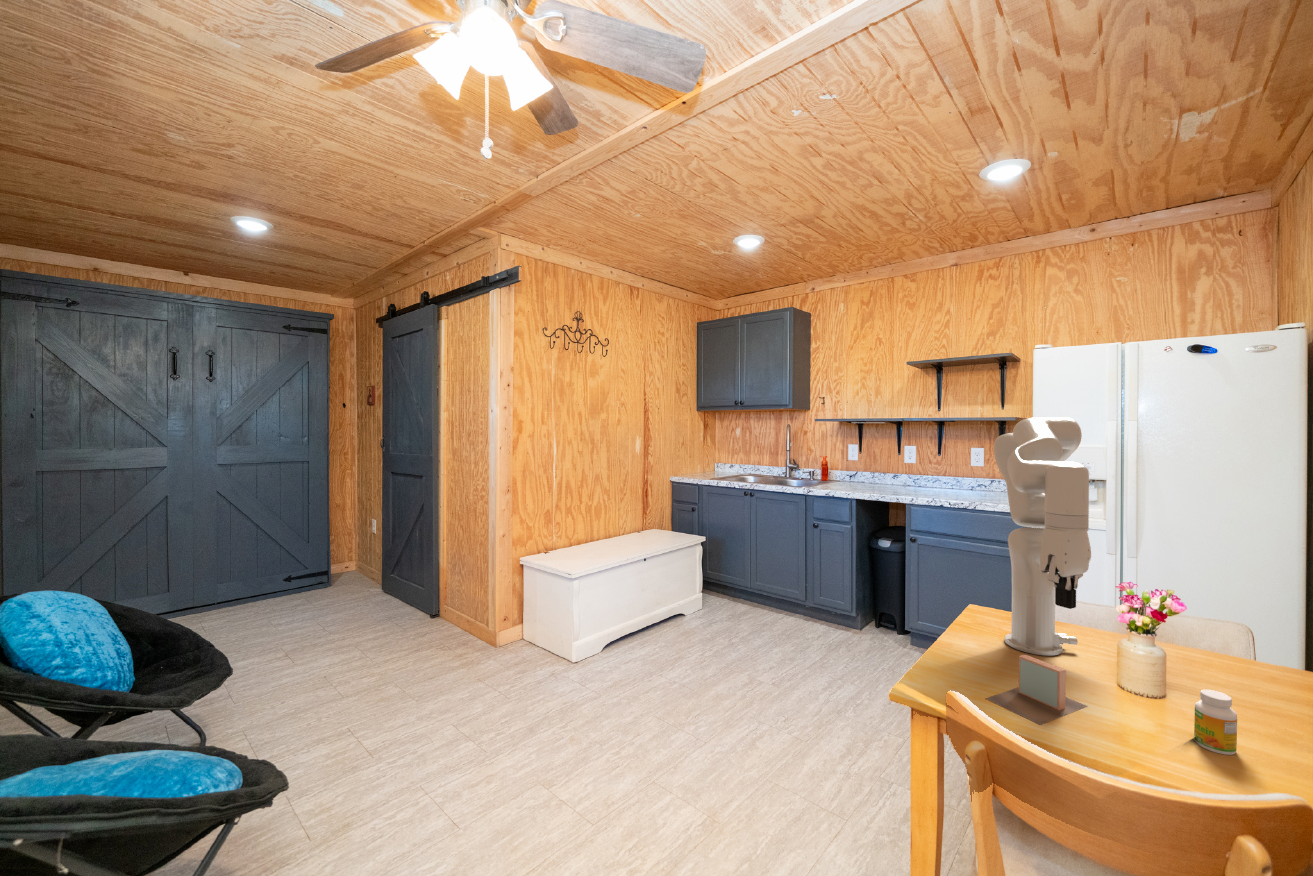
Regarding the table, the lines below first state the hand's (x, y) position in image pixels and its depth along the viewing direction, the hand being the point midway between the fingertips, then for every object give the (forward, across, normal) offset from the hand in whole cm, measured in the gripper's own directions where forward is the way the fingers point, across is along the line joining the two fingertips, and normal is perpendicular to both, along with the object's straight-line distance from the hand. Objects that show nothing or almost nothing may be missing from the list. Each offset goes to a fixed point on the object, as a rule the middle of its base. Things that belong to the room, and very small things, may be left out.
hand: (1065, 606), depth 115 cm
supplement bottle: (+20, -6, +22) cm, 30 cm away
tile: (+19, +8, 0) cm, 20 cm away
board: (+20, +10, 0) cm, 22 cm away
